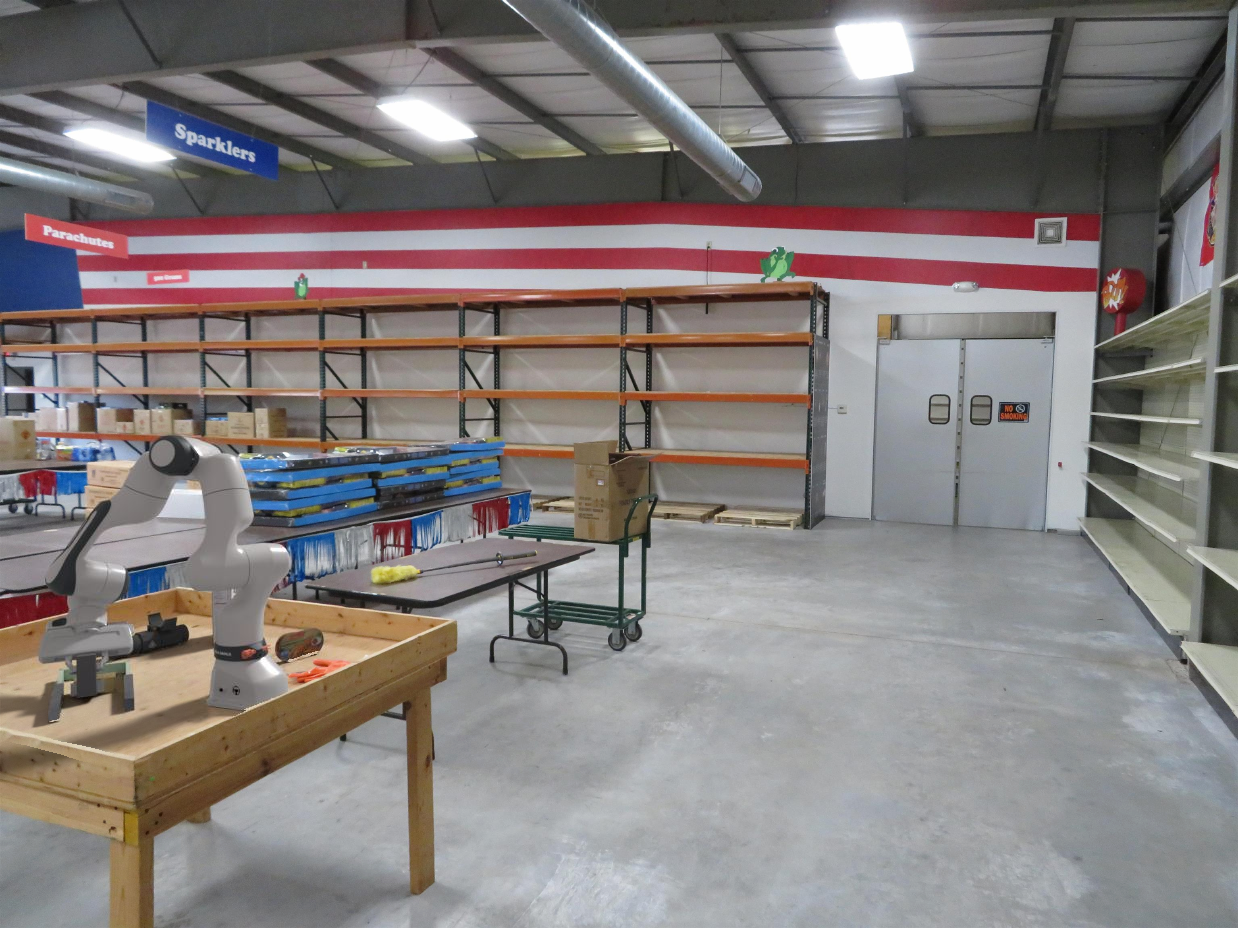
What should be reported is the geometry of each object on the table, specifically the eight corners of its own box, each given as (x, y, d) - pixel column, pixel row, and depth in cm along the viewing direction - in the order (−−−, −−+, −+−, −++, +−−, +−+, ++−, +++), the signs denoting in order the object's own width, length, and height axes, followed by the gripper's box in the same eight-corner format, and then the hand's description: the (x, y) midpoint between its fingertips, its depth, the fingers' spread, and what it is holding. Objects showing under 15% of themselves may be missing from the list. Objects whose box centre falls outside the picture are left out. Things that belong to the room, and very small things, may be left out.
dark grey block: (103, 693, 198) (102, 653, 199) (69, 698, 194) (68, 657, 195) (104, 690, 202) (103, 651, 203) (70, 695, 199) (70, 655, 199)
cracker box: (214, 634, 257) (213, 570, 256) (234, 632, 259) (234, 569, 258) (211, 646, 244) (210, 579, 243) (232, 644, 247) (232, 578, 245)
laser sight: (102, 657, 232) (101, 623, 231) (178, 639, 251) (178, 608, 250) (119, 663, 227) (119, 629, 226) (196, 644, 246) (195, 613, 245)
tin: (279, 665, 228) (279, 636, 228) (273, 663, 230) (273, 634, 230) (324, 652, 241) (324, 625, 240) (318, 650, 243) (318, 624, 242)
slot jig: (134, 709, 192) (134, 697, 192) (48, 722, 183) (48, 710, 183) (132, 684, 209) (132, 673, 209) (54, 695, 200) (54, 684, 200)
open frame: (130, 685, 209) (130, 674, 209) (56, 695, 200) (56, 683, 200) (129, 670, 220) (129, 660, 220) (59, 680, 211) (59, 669, 211)
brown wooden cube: (115, 691, 204) (115, 676, 204) (96, 694, 202) (96, 678, 202) (116, 686, 207) (115, 672, 207) (97, 689, 205) (97, 674, 205)
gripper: (133, 626, 214) (134, 672, 207) (40, 636, 203) (38, 684, 195) (133, 614, 210) (135, 659, 203) (39, 622, 199) (36, 671, 192)
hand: (86, 671), depth 199 cm, fingers closed on dark grey block, 4 cm apart
